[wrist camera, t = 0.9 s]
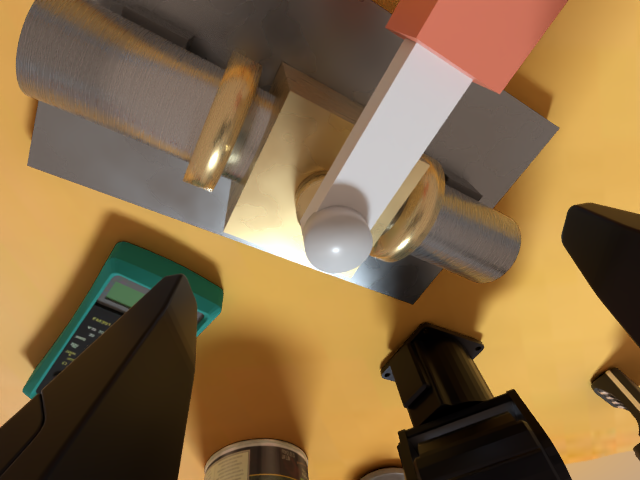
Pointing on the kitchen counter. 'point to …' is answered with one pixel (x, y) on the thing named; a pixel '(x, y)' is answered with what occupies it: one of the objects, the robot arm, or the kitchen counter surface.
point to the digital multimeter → (119, 306)
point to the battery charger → (619, 394)
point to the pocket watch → (385, 474)
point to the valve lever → (415, 111)
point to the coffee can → (258, 461)
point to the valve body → (265, 127)
